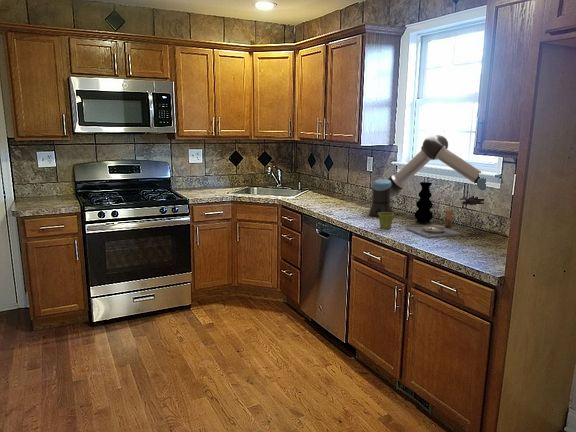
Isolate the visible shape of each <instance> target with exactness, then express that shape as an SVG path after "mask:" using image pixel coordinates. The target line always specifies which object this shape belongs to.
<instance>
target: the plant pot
mask: <svg viewBox="0 0 576 432" xmlns="http://www.w3.org/2000/svg"><path fill="white" fill-rule="evenodd" d="M378 214H379V217H378V219H379V228H380V229H382V230H390V229H392V224H393V219H394V216H395V213H393V212H392V213H389V212H380V213H378Z"/></svg>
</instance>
